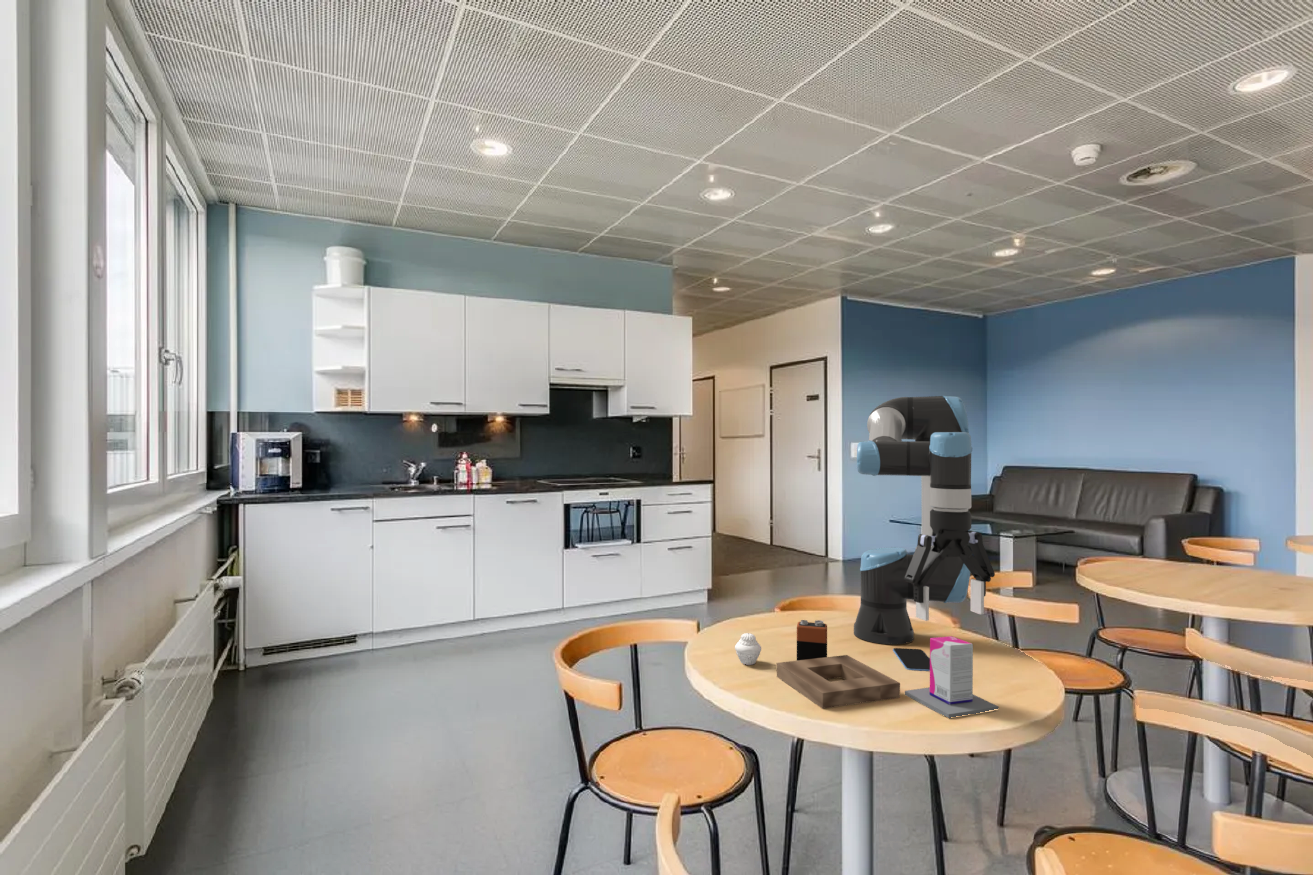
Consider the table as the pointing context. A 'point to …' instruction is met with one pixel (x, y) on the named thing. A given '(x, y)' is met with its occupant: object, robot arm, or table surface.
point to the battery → (811, 640)
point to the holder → (853, 690)
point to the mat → (950, 710)
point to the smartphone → (913, 659)
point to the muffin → (748, 649)
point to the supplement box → (951, 670)
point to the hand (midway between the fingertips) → (950, 615)
